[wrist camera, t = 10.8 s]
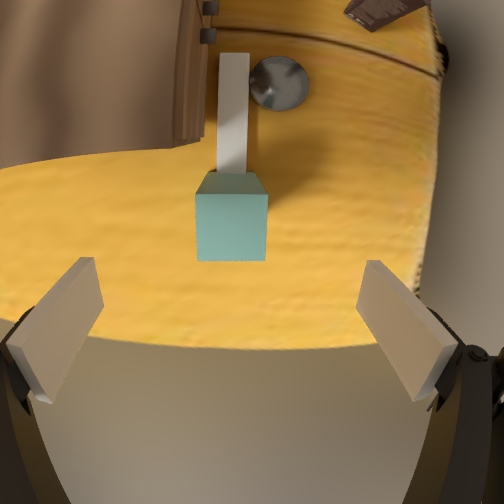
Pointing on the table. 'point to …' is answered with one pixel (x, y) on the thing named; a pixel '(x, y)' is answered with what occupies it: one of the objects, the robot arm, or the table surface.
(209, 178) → the tool
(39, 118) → the wooden cabinet
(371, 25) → the box
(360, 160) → the table surface
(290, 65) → the disc
